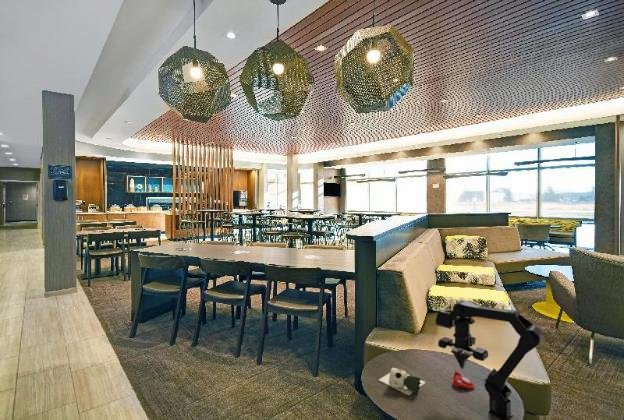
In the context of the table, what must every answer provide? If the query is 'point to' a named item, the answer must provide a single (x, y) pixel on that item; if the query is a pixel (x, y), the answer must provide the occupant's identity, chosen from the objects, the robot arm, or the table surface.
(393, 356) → the table surface
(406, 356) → the table surface
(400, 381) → the character mug
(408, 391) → the oatmeal mat
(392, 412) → the table surface
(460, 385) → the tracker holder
